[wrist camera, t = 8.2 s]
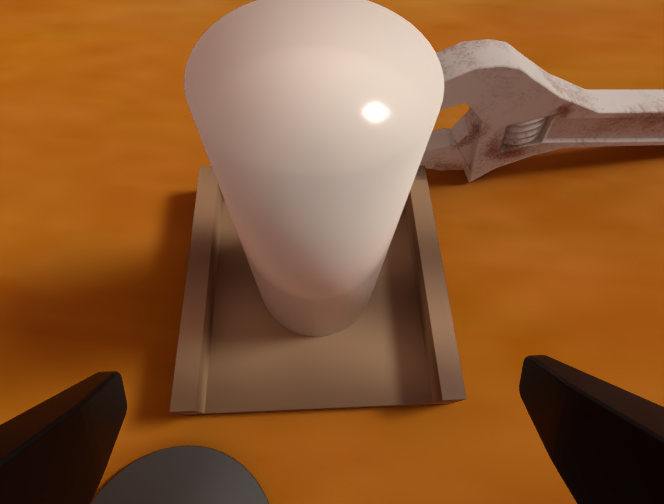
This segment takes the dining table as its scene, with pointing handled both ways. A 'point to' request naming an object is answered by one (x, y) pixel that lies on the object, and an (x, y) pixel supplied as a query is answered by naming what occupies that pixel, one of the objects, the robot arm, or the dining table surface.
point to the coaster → (183, 480)
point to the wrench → (529, 111)
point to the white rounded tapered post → (314, 144)
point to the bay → (307, 351)
